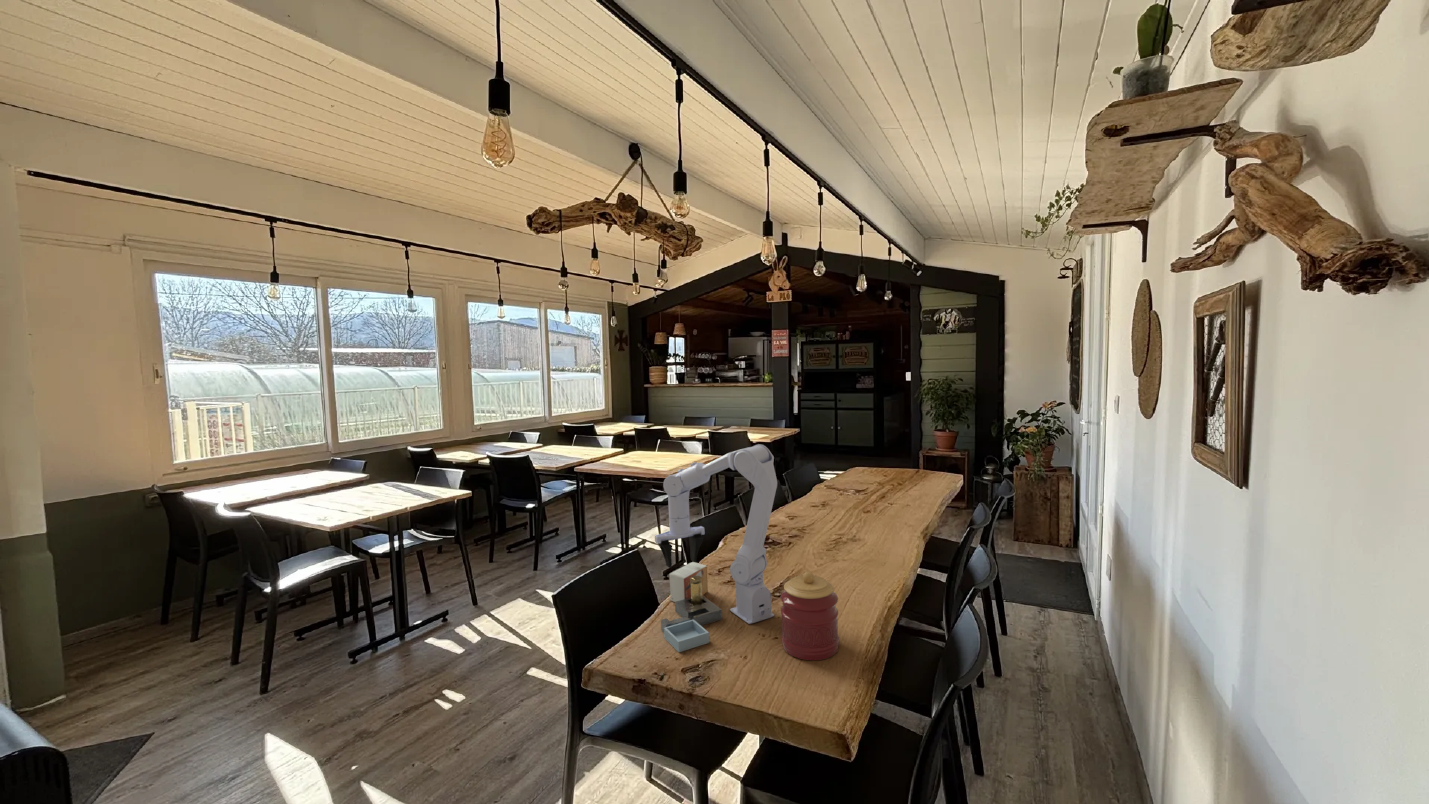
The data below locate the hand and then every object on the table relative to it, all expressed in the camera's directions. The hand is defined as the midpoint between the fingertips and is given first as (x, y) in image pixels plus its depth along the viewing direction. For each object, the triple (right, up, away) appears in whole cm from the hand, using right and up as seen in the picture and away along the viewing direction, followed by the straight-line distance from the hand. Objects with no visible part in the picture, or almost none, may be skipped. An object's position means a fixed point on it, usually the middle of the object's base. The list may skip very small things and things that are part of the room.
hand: (681, 563), depth 157 cm
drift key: (0, -11, -18) cm, 21 cm away
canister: (+31, -11, -29) cm, 44 cm away
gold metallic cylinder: (+5, -10, -8) cm, 14 cm away
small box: (+5, -5, +5) cm, 9 cm away
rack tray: (+3, -12, -24) cm, 26 cm away
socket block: (+5, -10, -11) cm, 16 cm away
